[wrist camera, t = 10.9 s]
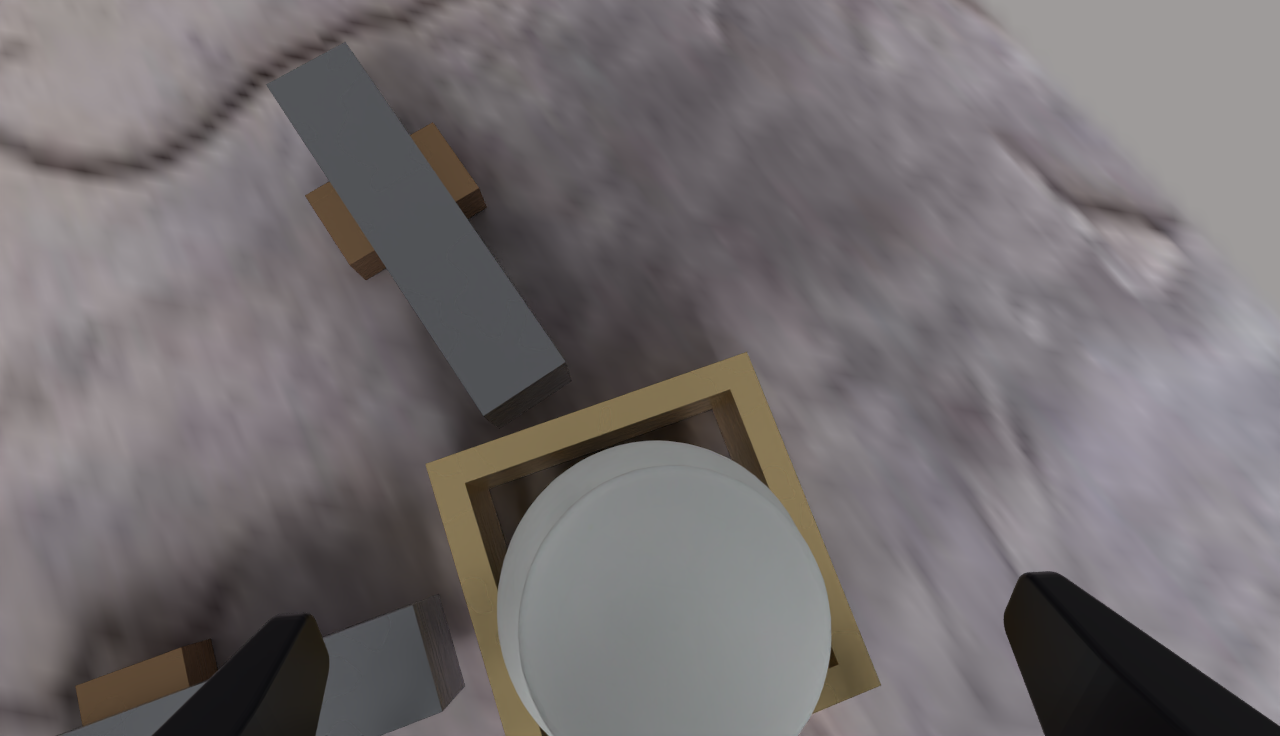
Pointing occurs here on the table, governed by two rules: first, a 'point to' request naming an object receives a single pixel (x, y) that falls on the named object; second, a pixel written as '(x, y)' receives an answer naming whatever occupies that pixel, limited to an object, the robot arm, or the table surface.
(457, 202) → the wooden box with ramps
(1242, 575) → the table surface
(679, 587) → the supplement bottle
